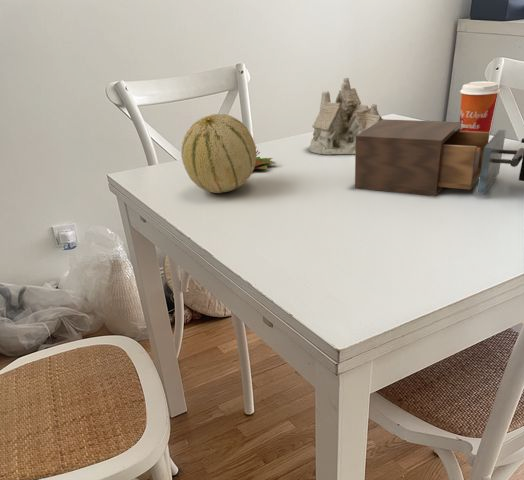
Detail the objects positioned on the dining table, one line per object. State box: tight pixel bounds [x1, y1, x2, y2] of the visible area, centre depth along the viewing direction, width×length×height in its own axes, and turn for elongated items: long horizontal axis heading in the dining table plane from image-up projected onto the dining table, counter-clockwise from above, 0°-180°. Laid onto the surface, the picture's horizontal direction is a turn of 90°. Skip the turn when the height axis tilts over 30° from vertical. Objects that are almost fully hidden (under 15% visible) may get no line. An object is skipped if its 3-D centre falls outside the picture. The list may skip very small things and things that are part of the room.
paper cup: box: [459, 80, 501, 133], centre depth 114 cm, size 8×8×14 cm
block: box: [473, 147, 481, 177], centre depth 99 cm, size 4×4×4 cm
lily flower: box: [254, 144, 277, 170], centre depth 122 cm, size 12×12×5 cm
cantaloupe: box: [180, 113, 257, 194], centre depth 106 cm, size 15×15×15 cm
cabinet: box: [354, 118, 461, 197], centre depth 104 cm, size 16×14×10 cm
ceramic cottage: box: [309, 77, 383, 155], centre depth 126 cm, size 16×16×15 cm
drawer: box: [438, 129, 524, 195], centre depth 99 cm, size 19×13×8 cm, turn 60°
